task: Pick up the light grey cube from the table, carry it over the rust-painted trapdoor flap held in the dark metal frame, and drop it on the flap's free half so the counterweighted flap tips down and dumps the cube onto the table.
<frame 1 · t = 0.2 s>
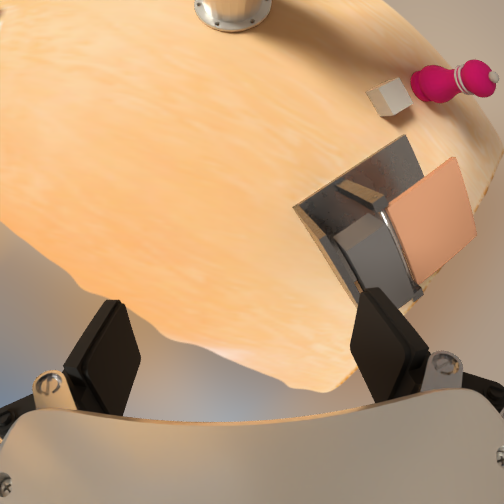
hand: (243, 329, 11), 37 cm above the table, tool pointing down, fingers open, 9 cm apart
light grey cube: (382, 98, 40), on the table
trapdoor: (419, 236, 35), point 14 cm above the table, hinge at 0.0°
frame: (360, 222, 48), on the table
pepper mill: (422, 86, 39), on the table
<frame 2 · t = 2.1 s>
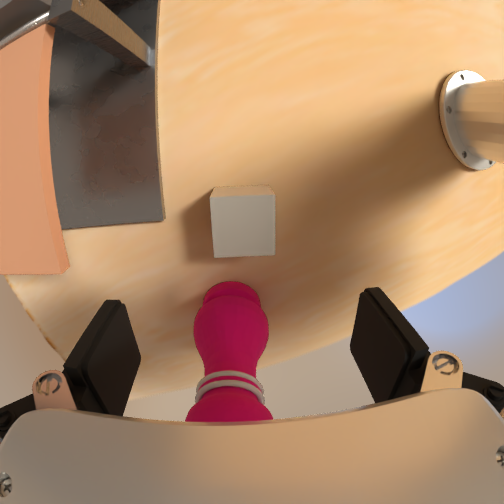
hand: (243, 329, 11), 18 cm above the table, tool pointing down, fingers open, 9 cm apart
light grey cube: (242, 211, 27), on the table
frame: (73, 79, 20), on the table
pepper mill: (231, 304, 31), on the table
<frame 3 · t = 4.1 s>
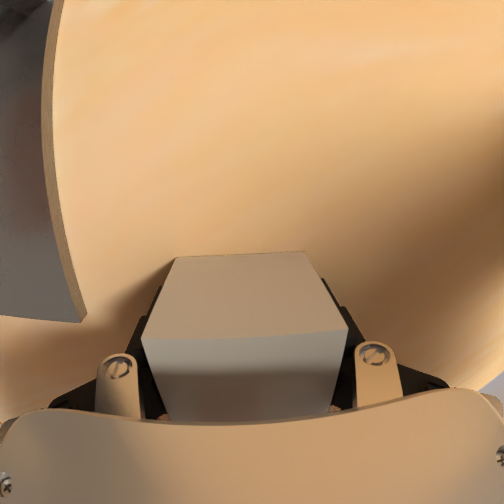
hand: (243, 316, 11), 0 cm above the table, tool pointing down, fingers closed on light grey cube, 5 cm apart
light grey cube: (243, 309, 12), on the table, touching gripper
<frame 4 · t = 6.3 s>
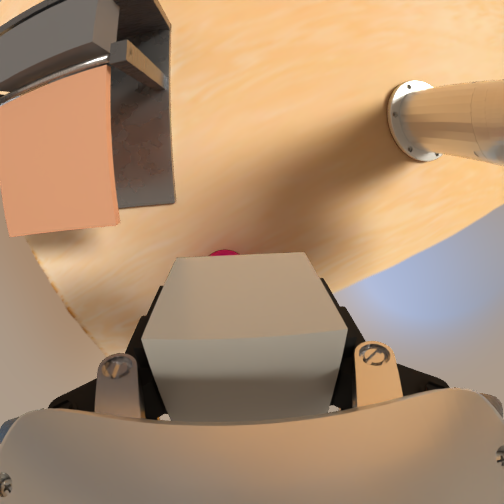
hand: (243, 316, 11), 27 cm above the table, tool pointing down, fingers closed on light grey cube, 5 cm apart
light grey cube: (243, 309, 12), point 26 cm above the table, touching gripper
trapdoor: (44, 117, 18), point 14 cm above the table, hinge at 0.0°
frame: (103, 95, 30), on the table
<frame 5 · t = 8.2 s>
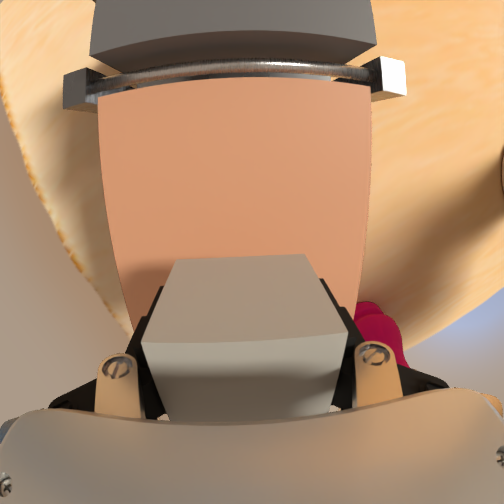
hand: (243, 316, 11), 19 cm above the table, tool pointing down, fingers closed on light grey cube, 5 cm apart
light grey cube: (242, 311, 12), point 18 cm above the table, touching gripper
trapdoor: (234, 138, 13), point 14 cm above the table, hinge at 0.0°
frame: (234, 102, 25), on the table
pepper mill: (359, 320, 35), on the table
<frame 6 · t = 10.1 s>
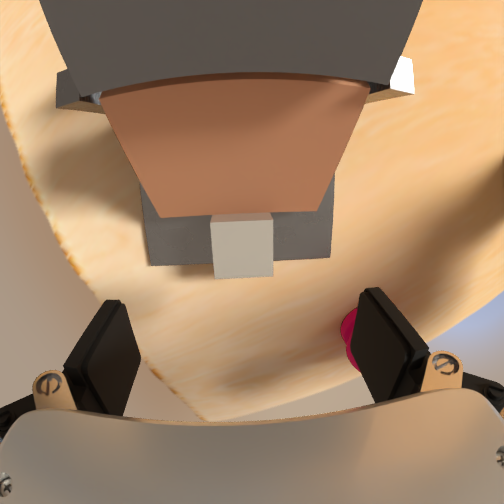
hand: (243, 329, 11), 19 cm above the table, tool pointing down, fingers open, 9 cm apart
light grey cube: (241, 213, 25), point 3 cm above the table, tilted 90°, touching frame, trapdoor
trapdoor: (235, 117, 15), point 11 cm above the table, hinge at -48.1°, touching light grey cube
frame: (234, 101, 24), on the table
pepper mill: (361, 323, 35), on the table
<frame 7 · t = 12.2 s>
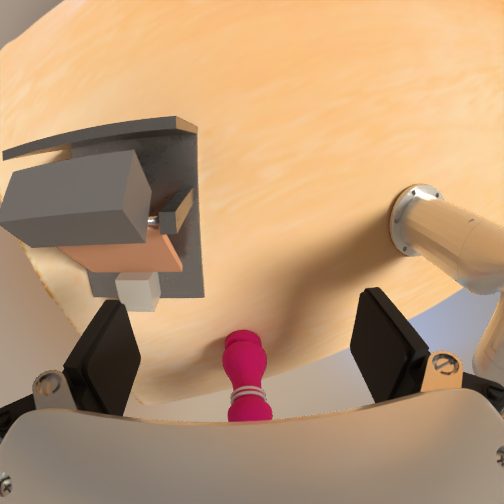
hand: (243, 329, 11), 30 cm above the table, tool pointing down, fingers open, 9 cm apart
light grey cube: (136, 272, 38), point 3 cm above the table, tilted 90°, touching frame, trapdoor
trapdoor: (105, 239, 28), point 11 cm above the table, hinge at -48.1°, touching light grey cube
frame: (132, 195, 37), on the table
pepper mill: (243, 342, 48), on the table
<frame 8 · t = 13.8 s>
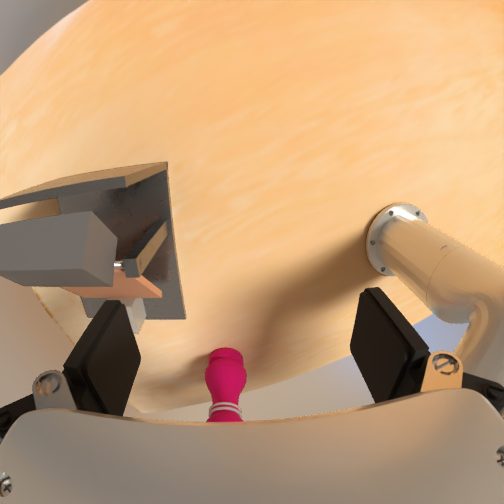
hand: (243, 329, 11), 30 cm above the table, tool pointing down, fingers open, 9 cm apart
light grey cube: (121, 297, 40), point 3 cm above the table, tilted 90°, touching frame, trapdoor
trapdoor: (86, 276, 30), point 11 cm above the table, hinge at -48.1°, touching light grey cube
frame: (114, 228, 39), on the table
pepper mill: (226, 358, 50), on the table
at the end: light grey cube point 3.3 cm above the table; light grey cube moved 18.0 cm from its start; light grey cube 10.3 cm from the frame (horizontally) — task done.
